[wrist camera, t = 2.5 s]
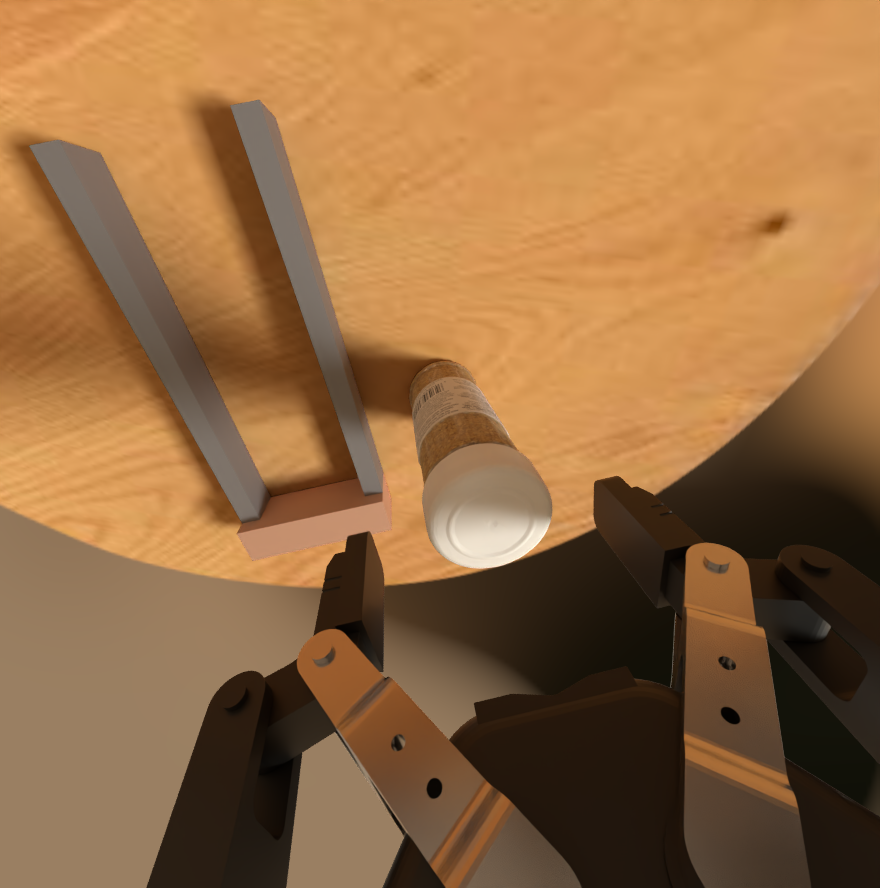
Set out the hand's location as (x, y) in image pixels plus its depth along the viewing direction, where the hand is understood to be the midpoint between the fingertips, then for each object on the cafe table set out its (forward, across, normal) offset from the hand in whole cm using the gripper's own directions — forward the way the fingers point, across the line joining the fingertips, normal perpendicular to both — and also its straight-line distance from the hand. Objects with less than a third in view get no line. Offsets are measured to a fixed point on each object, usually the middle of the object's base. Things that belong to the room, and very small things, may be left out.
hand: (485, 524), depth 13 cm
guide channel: (+13, +10, -4) cm, 17 cm away
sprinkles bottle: (+13, 0, 0) cm, 13 cm away
